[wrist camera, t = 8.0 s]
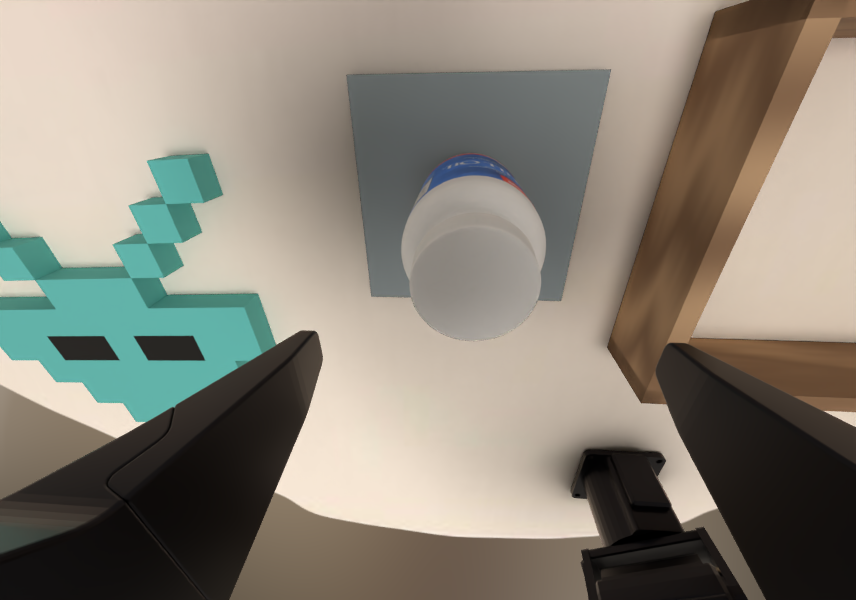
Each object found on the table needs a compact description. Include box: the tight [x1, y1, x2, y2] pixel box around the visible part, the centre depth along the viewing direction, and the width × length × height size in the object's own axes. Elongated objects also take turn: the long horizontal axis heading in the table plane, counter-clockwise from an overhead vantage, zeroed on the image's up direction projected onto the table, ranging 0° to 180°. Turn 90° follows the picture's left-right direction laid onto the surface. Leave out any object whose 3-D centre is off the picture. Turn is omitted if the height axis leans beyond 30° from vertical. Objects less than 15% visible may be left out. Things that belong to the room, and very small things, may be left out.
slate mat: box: [347, 69, 611, 301], centre depth 19 cm, size 12×12×1 cm
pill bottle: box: [401, 153, 546, 341], centre depth 14 cm, size 6×5×10 cm
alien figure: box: [0, 154, 276, 422], centre depth 24 cm, size 20×2×20 cm
